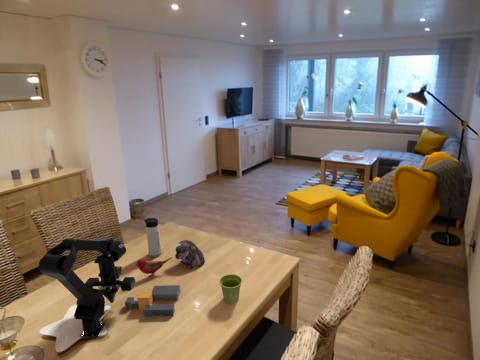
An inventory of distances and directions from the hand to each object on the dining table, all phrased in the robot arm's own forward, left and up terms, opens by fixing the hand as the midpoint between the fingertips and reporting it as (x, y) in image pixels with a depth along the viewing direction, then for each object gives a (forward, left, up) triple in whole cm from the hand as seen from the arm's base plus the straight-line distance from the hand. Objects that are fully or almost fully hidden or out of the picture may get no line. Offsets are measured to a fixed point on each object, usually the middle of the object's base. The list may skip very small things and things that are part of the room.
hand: (112, 302), depth 134 cm
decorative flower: (+33, -27, -2) cm, 42 cm away
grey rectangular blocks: (+2, -20, -2) cm, 20 cm away
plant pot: (+4, -48, -2) cm, 48 cm away
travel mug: (+42, -7, -2) cm, 42 cm away
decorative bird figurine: (+23, -12, -2) cm, 25 cm away
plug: (0, -11, -2) cm, 11 cm away
